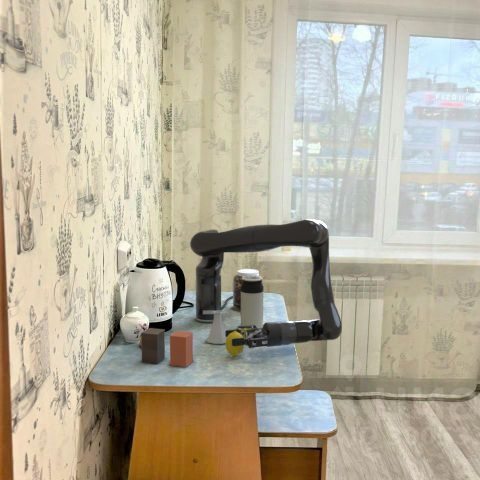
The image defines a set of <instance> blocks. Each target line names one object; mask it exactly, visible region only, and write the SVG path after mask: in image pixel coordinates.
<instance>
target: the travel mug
mask: <svg viewBox="0 0 480 480" xmlns="http://www.w3.org/2000/svg"><path fill="white" fill-rule="evenodd" d="M242 280H243V284H242V285H241V311H240V326H250V325H256V328H258V329H262V328H263V325H264V289H265V286H264V284H263V285H262V280H264V277H263V276H262V277H261V275H260V276H256V275H248V276H243V277H242Z"/></svg>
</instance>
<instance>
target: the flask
mask: <svg viewBox="0 0 480 480" xmlns="http://www.w3.org/2000/svg"><path fill="white" fill-rule="evenodd" d="M223 312H224V311H223V310H221V311H220V310H218V311H213V314H214V321H213V322H212V325H211V328H210V331H209V334H208V336H207V340H206V342H207V343H209V344H213V345H223V344H226V339H227V337H226V336H225V331H226V328H225V324H224V322H223V314H224V313H223Z"/></svg>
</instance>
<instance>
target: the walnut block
mask: <svg viewBox="0 0 480 480" xmlns="http://www.w3.org/2000/svg"><path fill="white" fill-rule="evenodd" d="M165 331H166V330H165V328H164V329H163V328H155V327H148V328H147V329H145V330H144V331H142V332H141V334H140V338H141V343H142V347H141V363H145V364H154V365H158V364H159V363H161V362H162V361H163V360H165V359H166V340H165V339H166V337H165V335H166V333H165Z"/></svg>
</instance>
